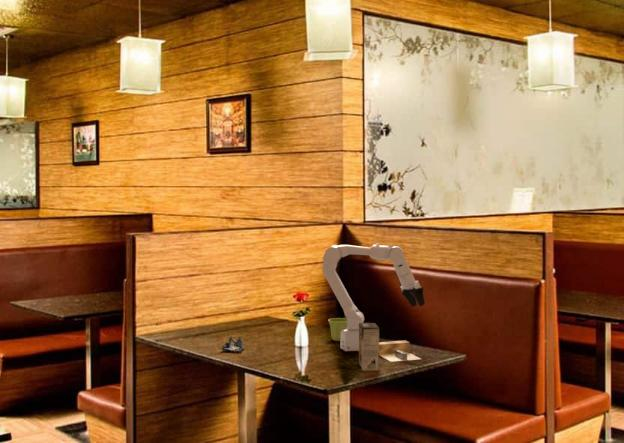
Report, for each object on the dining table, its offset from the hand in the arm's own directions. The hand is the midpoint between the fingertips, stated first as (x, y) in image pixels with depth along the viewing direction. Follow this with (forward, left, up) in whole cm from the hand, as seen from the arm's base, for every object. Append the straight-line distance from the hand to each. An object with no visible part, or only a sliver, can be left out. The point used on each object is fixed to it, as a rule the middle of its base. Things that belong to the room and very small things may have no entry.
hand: (418, 305), depth 324 cm
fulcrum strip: (-11, -8, -19) cm, 24 cm away
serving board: (-11, -5, -19) cm, 23 cm away
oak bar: (-11, +1, -18) cm, 22 cm away
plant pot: (-21, +34, -19) cm, 44 cm away
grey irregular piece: (-69, +27, -20) cm, 77 cm away
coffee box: (-28, -16, -19) cm, 38 cm away
